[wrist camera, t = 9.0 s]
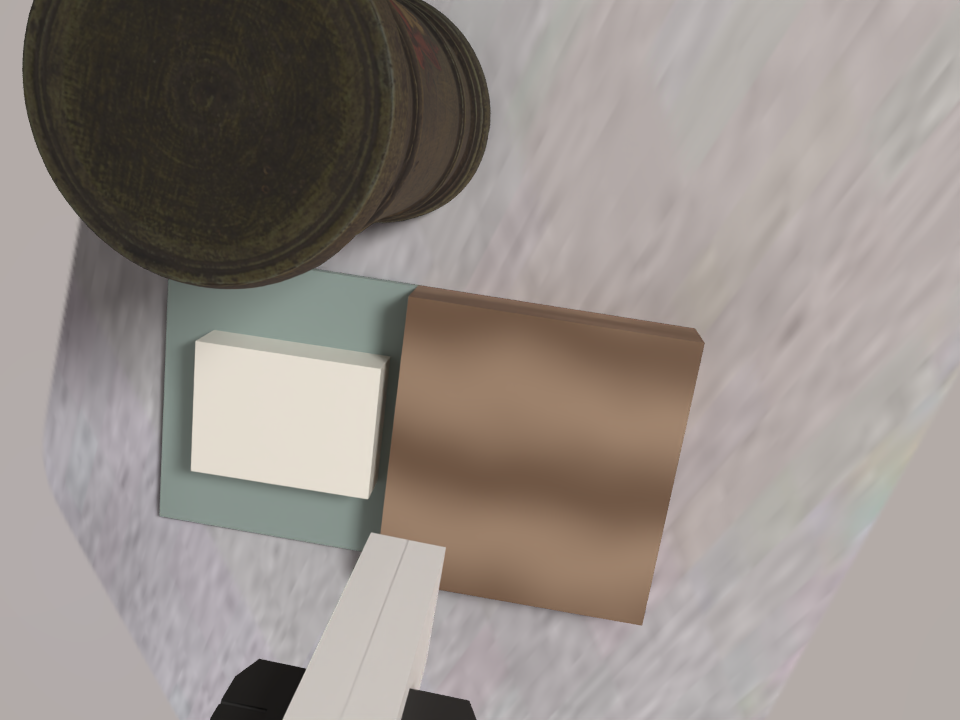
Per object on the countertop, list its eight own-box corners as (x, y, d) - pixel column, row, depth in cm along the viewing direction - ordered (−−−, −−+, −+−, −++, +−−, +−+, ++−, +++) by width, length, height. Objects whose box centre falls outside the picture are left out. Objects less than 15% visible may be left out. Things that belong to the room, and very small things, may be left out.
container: (498, 213, 36) (436, 295, 18) (290, 225, 37) (46, 314, 19) (484, -18, 33) (398, -173, 16) (263, 1, 34) (-43, -124, 17)
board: (418, 285, 37) (408, 296, 34) (695, 328, 36) (704, 343, 34) (386, 551, 40) (375, 578, 38) (637, 595, 40) (641, 625, 37)
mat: (173, 246, 37) (169, 247, 37) (418, 285, 37) (417, 286, 36) (163, 512, 41) (159, 516, 41) (386, 551, 40) (384, 555, 40)
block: (214, 329, 38) (195, 340, 36) (390, 356, 37) (380, 369, 35) (209, 453, 39) (191, 470, 37) (377, 480, 39) (367, 499, 37)
